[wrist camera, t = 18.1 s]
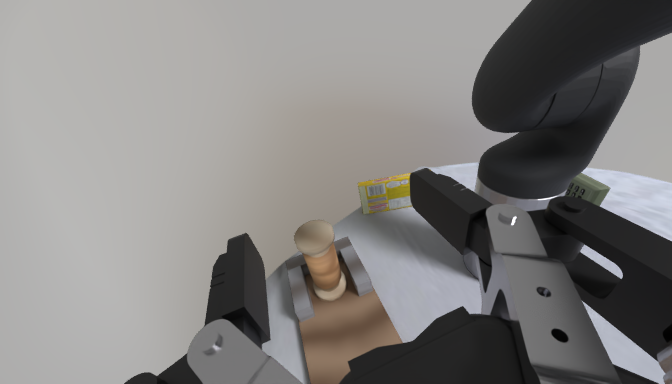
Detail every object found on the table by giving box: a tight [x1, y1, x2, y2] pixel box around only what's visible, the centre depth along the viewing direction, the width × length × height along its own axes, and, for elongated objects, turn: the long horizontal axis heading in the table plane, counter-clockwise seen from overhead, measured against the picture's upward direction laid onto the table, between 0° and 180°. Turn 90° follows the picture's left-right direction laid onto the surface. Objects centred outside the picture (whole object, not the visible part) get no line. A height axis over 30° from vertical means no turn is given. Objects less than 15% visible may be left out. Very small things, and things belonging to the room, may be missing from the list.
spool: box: [294, 220, 347, 302], centre depth 37 cm, size 6×6×13 cm
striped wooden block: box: [286, 237, 403, 384], centre depth 34 cm, size 28×13×4 cm, turn 19°
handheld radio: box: [564, 173, 610, 206], centre depth 52 cm, size 7×3×25 cm
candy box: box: [358, 169, 430, 214], centre depth 54 cm, size 16×2×8 cm, turn 92°
